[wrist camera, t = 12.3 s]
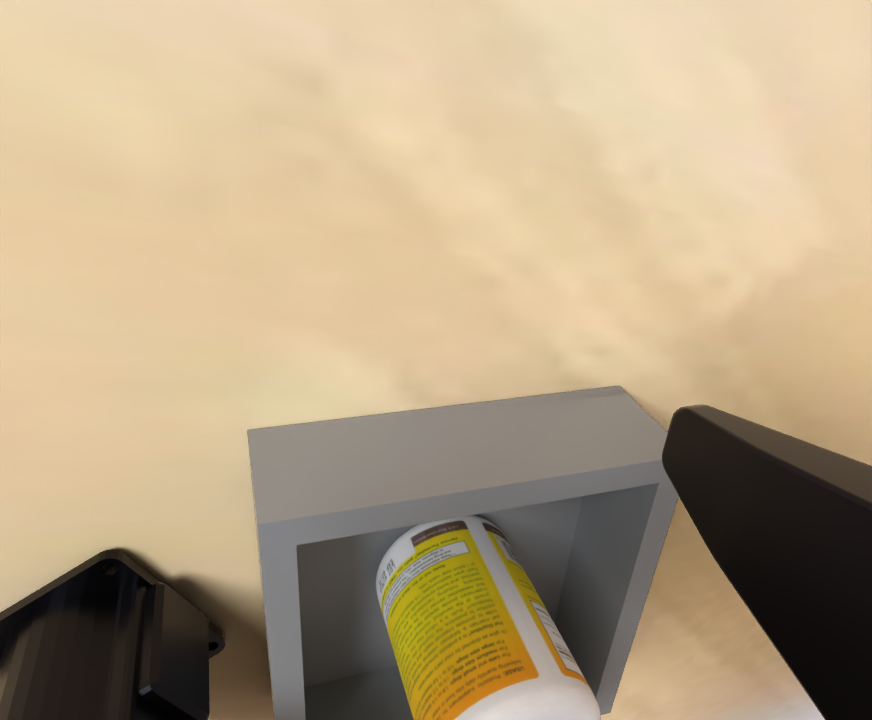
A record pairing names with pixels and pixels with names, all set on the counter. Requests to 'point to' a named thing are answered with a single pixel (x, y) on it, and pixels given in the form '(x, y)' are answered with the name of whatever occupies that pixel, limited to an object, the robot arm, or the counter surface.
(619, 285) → the counter surface
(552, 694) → the supplement bottle
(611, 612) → the box
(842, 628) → the robot arm
